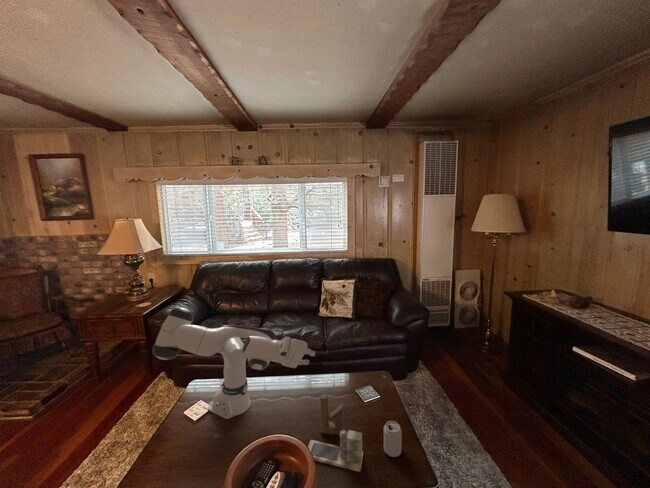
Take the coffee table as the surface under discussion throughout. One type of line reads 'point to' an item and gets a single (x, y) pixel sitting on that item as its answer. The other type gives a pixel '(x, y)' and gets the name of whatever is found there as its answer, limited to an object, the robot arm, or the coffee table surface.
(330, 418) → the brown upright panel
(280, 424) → the coffee table surface
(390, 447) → the can
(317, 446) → the hinge jig
